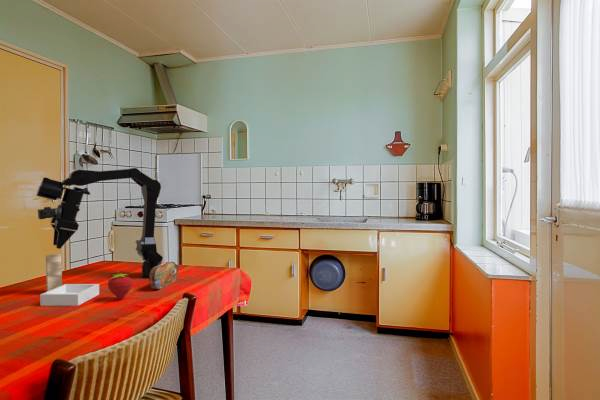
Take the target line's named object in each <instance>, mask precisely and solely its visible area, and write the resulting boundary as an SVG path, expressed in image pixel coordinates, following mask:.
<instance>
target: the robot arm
mask: <svg viewBox="0 0 600 400" xmlns="http://www.w3.org/2000/svg"><path fill="white" fill-rule="evenodd" d="M122 179H131V180H132V181H133V182H134V183H136V184H137V185H138V186H139V187H140V189H141V194H142V198H143V202H144V203H143V204H144V205H143V217H142V218H143V219H142V230H141V231H142V232H141V238H140V240H139V239H136V248H135V250H136V253H137V255H138V256H139V257H141V258H142V260H143V263H142V265H141V275H142V276H141V277H140V278H141V279H149V274H150V271H151V269H152V268H153V267H155V266H158V265H160V264H162V262H163V260H164V259H163V258H164V257H163V256H162V255H161V254H160V253H159V252H158V249H157V243H156V238H155V225H156V223H155V222H156V206H157V200H158V199H159V197H160V193H161V190H162V186H161V182H159V180H157V179H152V177H150V176H149V175H147V174H145V173H144V172H142V171H140V170H139V169H138V168H137V167H132V168H128V169H127V168H125V169H114V170H113V169H112V170H101V171H100V170H99V171H98V170H90V169H89V170H86V169H76V170H73V171H71V172H70V174H69V175H68V177H67V178H66V179H63V180H62V181H58V180H54V179H51V178H49V177H43V178H42V180H41V181H40V185H39V186H38V189H37V191H36V197H38V198H44V199H49V200H53V201H56V200H57V199H61V202H60V204H58V205H57V207H53V208H52V207H51V206H44V207H43V208H41V209H37V217H38V220H45V219H50V226H51V227H52V228H53V240H52V241H53V243H52V244H53V246H56V247H55V248H56V249H59V250H60V249H62V248H63V246H64V245H65V244H66V243H67V242H68V240H69V239H70V238H72V236H73V235H74V234H75V233H76V231H78V230H79V226H80V224H79V223H78V222H77V215H78V213H79V212H80V210H81V209H80V205H81V203H82V200H83V197H84V195H87V196H88V195H89V196H90V195H91V192H90V191H89V189H88V187H84V188H80V187H81V186H82V187H83V186H88V185H91V184H94V183H98V182H103V181H112V180H114V181H116V180H122ZM71 186H73V188H69V187H71ZM62 195H63V196H62Z"/></svg>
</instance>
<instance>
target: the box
mask: <svg viewBox="0 0 600 400" xmlns="http://www.w3.org/2000/svg"><path fill="white" fill-rule="evenodd" d="M99 295H100V284H99V283H64V284H62V286H59V287H57V288H55V289H52V290H50V291H47V290H46V291H45V292H43V293H41V294H40V296H39V297H40V298H39V299H40V301H39V302H40V307H42V306H45V307H48V306H49V307H52V306H53V307H55V306H56V307H58V306H66V307H67V306H70V307H71V306H73V307H74V306H75V307H77V306H81V305H82V304H83V303H86V302H87V301H89V300H91V299H93V298H95V297H97V296H99Z"/></svg>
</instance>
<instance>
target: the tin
mask: <svg viewBox="0 0 600 400" xmlns="http://www.w3.org/2000/svg"><path fill="white" fill-rule="evenodd" d="M178 271H179V270H178V265H177V264H176V262H174V261H166V262H163V263H161V264H160V265H158V266H155V267H153V268H152V269H151V271H150V274H149V278H148V280H149V281H148V282H149V287H150V288H151V289H154V290H162V289H165V288H167V287H168V286H171V285H172V284H174V283H175V282H176V280H177V279H178V275H179V274H178Z"/></svg>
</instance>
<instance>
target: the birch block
mask: <svg viewBox="0 0 600 400" xmlns="http://www.w3.org/2000/svg"><path fill="white" fill-rule="evenodd" d="M62 268H63V265H62V255H61V254H60V253H55V254H54V253H53V254H46V255H45V270H46V271H45V277H46V279H45V280H46V292H47V291H50V290H52V289H55V288H57V287H59V286H62V285H63V275H62V274H63V271H62Z"/></svg>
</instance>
